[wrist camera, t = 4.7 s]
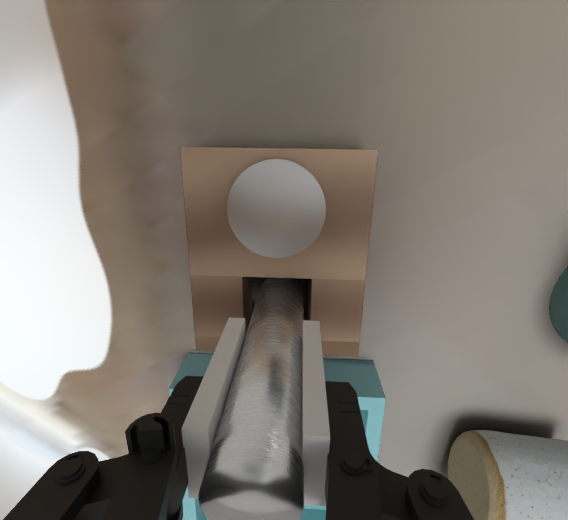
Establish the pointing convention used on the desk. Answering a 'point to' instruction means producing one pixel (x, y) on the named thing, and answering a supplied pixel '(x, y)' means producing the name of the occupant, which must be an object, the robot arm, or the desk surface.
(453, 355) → the desk surface
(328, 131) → the desk surface
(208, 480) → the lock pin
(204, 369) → the tray
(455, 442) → the ceramic mug
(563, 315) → the bracket
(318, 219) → the brown wooden block
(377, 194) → the desk surface
